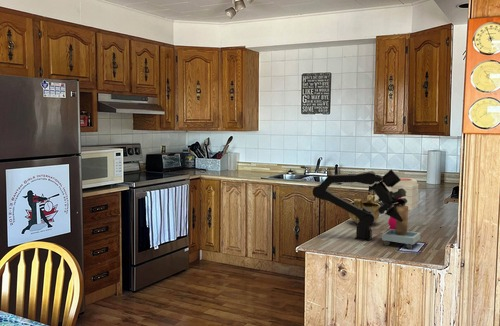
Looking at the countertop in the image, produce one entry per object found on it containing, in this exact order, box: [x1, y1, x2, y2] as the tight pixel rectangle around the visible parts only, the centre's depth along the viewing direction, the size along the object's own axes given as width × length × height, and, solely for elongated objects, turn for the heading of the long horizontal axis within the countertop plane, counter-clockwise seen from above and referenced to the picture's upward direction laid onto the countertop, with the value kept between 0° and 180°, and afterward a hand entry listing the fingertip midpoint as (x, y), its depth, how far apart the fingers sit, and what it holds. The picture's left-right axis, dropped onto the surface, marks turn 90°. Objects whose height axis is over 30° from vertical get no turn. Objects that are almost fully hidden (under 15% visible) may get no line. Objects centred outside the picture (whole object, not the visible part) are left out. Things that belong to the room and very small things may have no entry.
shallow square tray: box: [381, 229, 422, 250], centre depth 222 cm, size 14×12×5 cm
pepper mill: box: [387, 198, 401, 230], centre depth 247 cm, size 7×7×20 cm
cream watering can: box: [374, 177, 420, 211], centre depth 316 cm, size 19×30×18 cm, turn 56°
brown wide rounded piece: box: [348, 194, 381, 224], centre depth 264 cm, size 22×17×15 cm
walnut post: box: [396, 205, 409, 236], centre depth 221 cm, size 5×5×13 cm
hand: (404, 220), depth 220 cm, fingers closed on walnut post, 5 cm apart
